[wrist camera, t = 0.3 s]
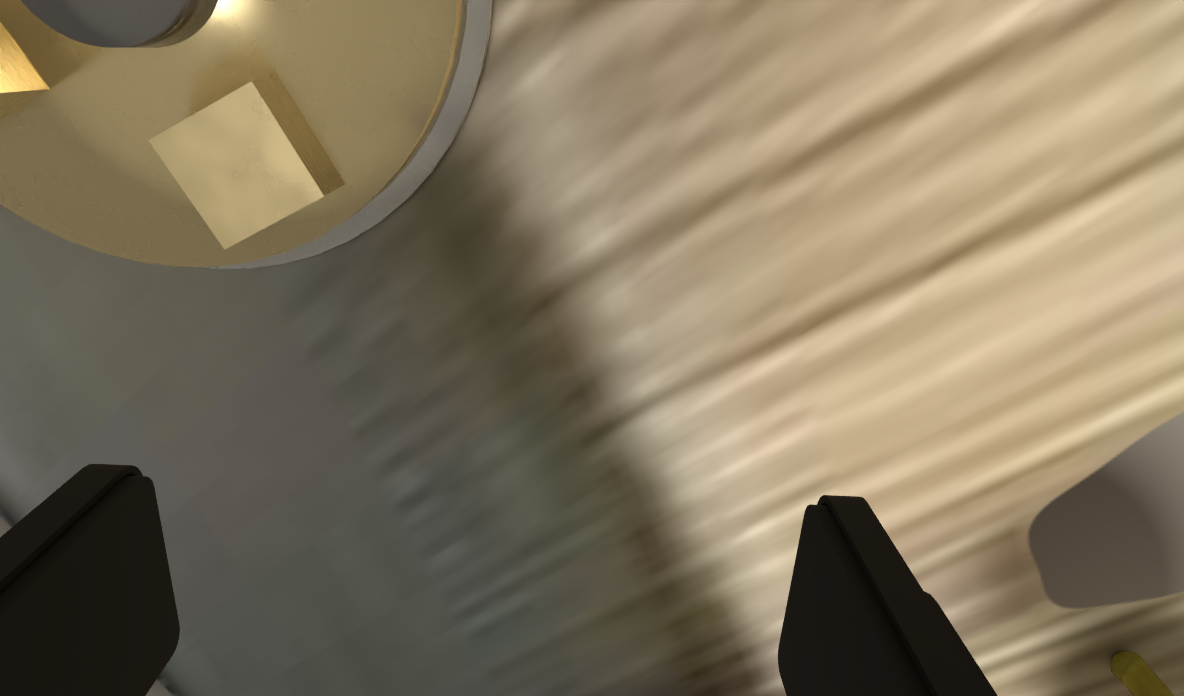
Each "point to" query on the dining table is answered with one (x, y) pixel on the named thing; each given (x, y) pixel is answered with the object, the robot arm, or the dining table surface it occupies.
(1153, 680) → the decorative mushroom
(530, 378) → the dining table surface
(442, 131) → the round white base
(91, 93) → the round wooden platform
